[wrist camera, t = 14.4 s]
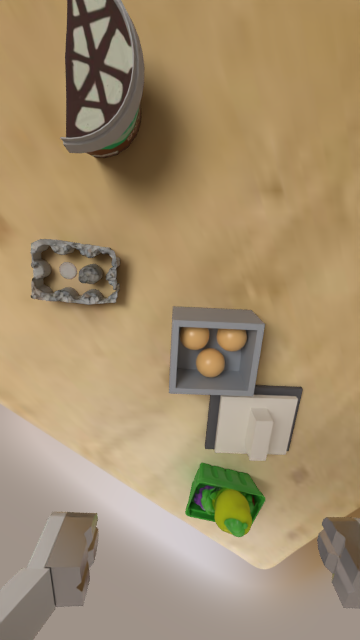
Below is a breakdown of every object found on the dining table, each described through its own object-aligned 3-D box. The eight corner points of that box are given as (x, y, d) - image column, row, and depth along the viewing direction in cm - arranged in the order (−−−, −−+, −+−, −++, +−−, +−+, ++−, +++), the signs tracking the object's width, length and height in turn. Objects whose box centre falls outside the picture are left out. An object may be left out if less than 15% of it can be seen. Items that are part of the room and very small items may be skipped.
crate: (251, 310, 38) (265, 324, 32) (242, 373, 41) (253, 396, 35) (172, 306, 37) (172, 320, 31) (169, 370, 40) (169, 393, 35)
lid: (293, 393, 41) (307, 412, 37) (281, 447, 45) (293, 470, 40) (220, 390, 41) (225, 409, 36) (213, 445, 44) (218, 468, 40)
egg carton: (41, 292, 37) (25, 299, 33) (40, 235, 34) (23, 236, 30) (120, 303, 37) (113, 311, 33) (124, 247, 35) (117, 249, 31)
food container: (146, 179, 32) (134, 157, 23) (94, 171, 32) (60, 145, 22) (157, 51, 28) (149, -40, 19) (99, 40, 28) (60, -59, 18)
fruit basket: (182, 487, 48) (185, 561, 37) (198, 449, 45) (206, 517, 34) (241, 500, 49) (260, 575, 38) (260, 464, 46) (286, 534, 36)
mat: (300, 387, 42) (302, 389, 41) (287, 448, 45) (288, 451, 45) (211, 383, 41) (212, 385, 41) (204, 446, 45) (205, 448, 44)
